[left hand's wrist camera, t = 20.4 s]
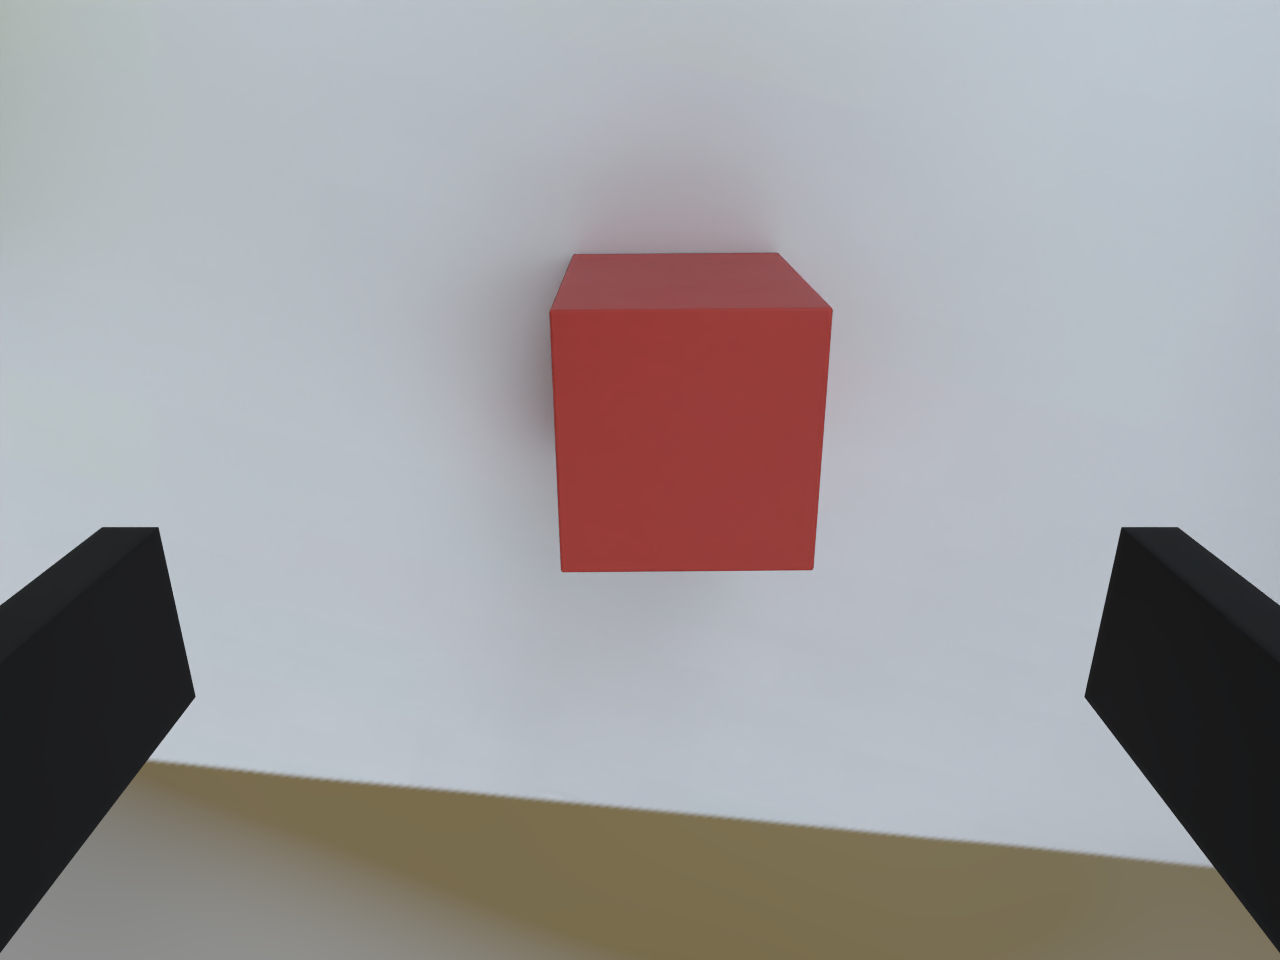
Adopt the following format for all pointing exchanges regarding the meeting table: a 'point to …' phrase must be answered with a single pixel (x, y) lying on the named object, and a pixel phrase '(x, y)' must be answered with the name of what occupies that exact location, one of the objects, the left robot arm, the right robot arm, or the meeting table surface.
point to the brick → (688, 412)
